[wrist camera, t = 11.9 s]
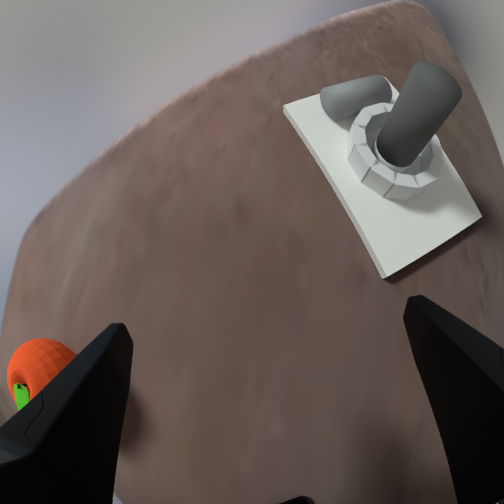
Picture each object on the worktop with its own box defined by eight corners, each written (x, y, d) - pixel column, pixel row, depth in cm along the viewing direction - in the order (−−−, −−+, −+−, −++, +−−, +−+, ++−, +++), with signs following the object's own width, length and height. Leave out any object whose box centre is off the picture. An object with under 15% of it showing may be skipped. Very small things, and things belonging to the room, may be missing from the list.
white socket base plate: (476, 220, 23) (500, 205, 20) (382, 279, 23) (402, 269, 19) (382, 82, 27) (392, 57, 23) (283, 112, 27) (284, 82, 23)
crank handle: (413, 174, 24) (470, 105, 14) (377, 176, 24) (426, 100, 14) (401, 139, 24) (446, 65, 15) (366, 140, 25) (403, 58, 15)
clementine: (108, 433, 21) (62, 459, 14) (47, 418, 21) (-3, 433, 14) (102, 341, 23) (49, 342, 16) (41, 335, 23) (-13, 332, 16)
